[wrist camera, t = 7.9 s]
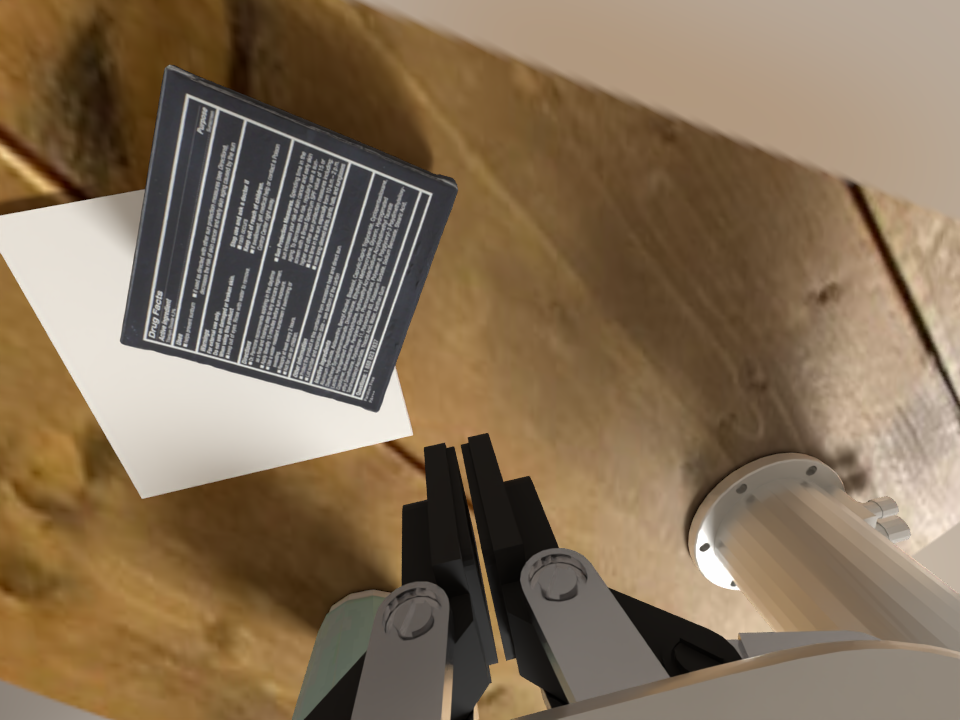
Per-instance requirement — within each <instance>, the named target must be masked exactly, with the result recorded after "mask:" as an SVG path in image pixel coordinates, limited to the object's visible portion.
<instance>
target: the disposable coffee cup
mask: <svg viewBox="0 0 960 720" xmlns="http://www.w3.org/2000/svg"><path fill="white" fill-rule="evenodd" d="M389 594H391V593H389V592H384V591H378V590H368V591H363V592H358V593H353V594H349V595H348V596H346V597H345V598H343V599H342V600H340V601H339V602H337V603H336V604H334V605H333V606H332V607H331V609H330V611H329V613H328V614H326V617H325V619H324V621H323V623H322V625H321V627H320V629H319V631H318V634H317V638H316V641H315V644H314V647H313V651H312V654H311V657H310V661H309V664H308V667H307V671H306V674H305V677H304V681H303V684H302V687H301V691H300V694H299V697H298V701H297V704H296V707H295V710H294V714H293V717H292V720H304V719H305V718H306V717H307V715H308V714H309V713H310V712H311V711H312V710H313V709H314V708H315V707H316V706H317V705H318V703H319V702H320V701H321V700H322V699H323V698H324V697H325V696H326V695H327V694H328V692H329V691H330V690H331V689H332V688H333V687H334V686H335V685H336V684H337V683H338V681H339V680H340V679H341V678H342V677H343V676H344V675H345V674H346V673H347V672H348V671H349V669H350V668H351V667H352V666H353V665H354V664H355V663H356V662H357V661H358V660H359V658H360V657H361V656H362V655H363V654H364V653H365V652H366V651H367V648H368V644H369V639H370V635H371V631H372V626H373V622H374V618H375V615H376V613H377V610H378V608H379V606H380V605H381V603H382V602H383V601H384V599H385V598H386V597H387V596H388V595H389Z"/></svg>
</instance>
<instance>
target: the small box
mask: <svg viewBox="0 0 960 720" xmlns="http://www.w3.org/2000/svg"><path fill="white" fill-rule="evenodd" d="M457 191H458V188H457V184H456V182H455V180H454V179H453V178H450V177H447V176H443V175H440V174H439V175H436V174H433V173H431V172H429V171H426V170H424V169H421V168H419V167H417V166H414V165H412V164H410V163H408V162H406V161H403V160H401V159H399V158H396V157H394V156H392V155H389V154H387V153H385V152H383V151H380V150H378V149H375V148H373V147H370V146H368V145H365V144H363V143H361V142H358V141H356V140H354V139H351V138H349V137H346V136H344V135H341V134H339V133H337V132H335V131H332V130H330V129H327V128H325V127H322V126H320V125H317V124H315V123H313V122H310V121H308V120H305V119H303V118H301V117H298V116H295V115H293V114H291V113H288V112H286V111H283V110H281V109H278V108H276V107H273V106H271V105H268V104H265V103H263V102H260V101H258V100H256V99H253V98H251V97H248V96H246V95H243V94H241V93H239V92H236V91H234V90H231V89H229V88H226V87H223V86H221V85H219V84H216V83H214V82H212V81H209V80H206V79H204V78H201V77H199V76H196V75H194V74H192V73H190V72H188V71H185V70H183V69H181V68H179V67H177V66H174V65H168V66H167V67H166V68H165V70H164V75H163V80H162V87H161V93H160V100H159V106H158V112H157V118H156V124H155V131H154V137H153V143H152V149H151V156H150V162H149V170H148V175H147V180H146V186H145V192H144V198H143V204H142V210H141V217H140V223H139V229H138V235H137V242H136V248H135V253H134V259H133V265H132V271H131V277H130V283H129V290H128V295H127V302H126V308H125V313H124V319H123V324H122V331H121V337H120V343H121V344H123V345H126V346H130V347H134V348H138V349H143V350H152V351H155V352H158V353H162V354H165V355H168V356H174V357H179V358H182V359H186V360H190V361H193V362H197V363H199V364H204V365H210V366H212V367H215V368H218V369H222V370H225V371H228V372H232V373H236V374H240V375H244V376H248V377H252V378H255V379H259V380H263V381H266V382H269V383H274V384H277V385H281V386H284V387H289V388H292V389H297V390H301V391H304V392H306V393H310V394H314V395H317V396H321V397H326V398H330V399H334V400H336V401H340V402H344V403H347V404H351V405H354V406H359V407H361V408H363V409H365V410H368V411H371V412H375V413H377V412H379V410H380V408H381V405H382V403H383V399H384V396H385V393H386V390H387V387H388V385H389V382H390V379H391V376H392V373H393V370H394V367H395V365H396V362H397V359H398V356H399V354H400V351H401V348H402V345H403V342H404V339H405V337H406V334H407V330H408V327H409V325H410V322H411V319H412V317H413V314H414V311H415V309H416V306H417V303H418V300H419V297H420V294H421V292H422V289H423V286H424V283H425V280H426V278H427V275H428V272H429V269H430V266H431V263H432V261H433V258H434V255H435V252H436V250H437V247H438V244H439V241H440V238H441V236H442V233H443V230H444V227H445V225H446V222H447V220H448V217H449V215H450V212H451V210H452V207H453V204H454V201H455V198H456V195H457Z"/></svg>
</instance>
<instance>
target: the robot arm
mask: <svg viewBox="0 0 960 720" xmlns="http://www.w3.org/2000/svg"><path fill="white" fill-rule="evenodd" d="M468 442H469V443H467V444H462V445H461V449H462V454H463V459H464V464H465V469H466V474H467V479H468V484H469V489H470V494H471V499H472V504H473V509H474V514H475V519H476V524H477V529H478V534H479V539H480V544H481V549H482V554H483V558H484V563H485V568H486V572H487V577H488V581H489V585H490V590H491V594H492V599H493V603H494V608H495V612H496V617H497V621H498V626H499V630H500V635H501V639H502V644H503V648H504V653H505V657H506V661H507V660H511V659H514V658H516V660H517V664H518V669H519V673H520V675H521V676H522V677H524V678H525V679H527V680H529V681H530V682H532V683H534V684H535V685H537V686H539V687H540V689H541V693H542V697H543V700H544V702H545V705H546V707H547V709H548V710H545V711H541V712H537V713H533V714H530V715H526V716H522V717H518V718H515V719H511V720H960V594H959V593H958V592H956V591H955V590H954V589H952V588H951V587H950V586H948V585H947V584H946V583H945V582H943V581H942V580H941V579H939V578H938V577H937V576H935V575H934V574H933V573H932V572H930V571H929V570H928V569H926V568H925V567H924V566H923V565H921V564H920V563H919V562H917V561H916V560H915V559H913V558H912V557H911V556H910V555H908V554H907V553H906V552H904V551H903V550H902V549H900V548H899V547H898V546H897V545H895V544H894V543H897V542H901V541H904V540H908V539H909V538H910V536H911V534H910V529H909V527H908V525H907V524H906V522H905V521H903V520H902V519H901V518H900V517H898V516H896V515H897V513H898V512H899V509H898V506H897V504H896V502H895V501H894V500H893V499H892V498H890V497H887V496H885V497H881V498H877V499H873V500H869V501H868V502H866V503H861V502H857V501H856V500H854V499H853V498H852V497H850V496H849V495H848V494H846V493H845V489H844V484H843V482H842V480H841V479H840V477H839V475H838V474H837V473H836V472H835V471H834V470H833V469H832V468H830V467H829V466H828V465H826V464H825V463H823V462H822V461H820V460H819V459H817V458H815V457H812V456H809V455H806V454H800V453H781V454H775V455H771V456H767V457H763V458H760V459H758V460H755V461H753V462H750V463H748V464H746V465H744V466H742V467H741V468H739V469H737V470H736V471H734V472H732V473H731V474H730V475H729V476H727V477H726V478H725V479H723V480H722V481H721V482H720V483H719V484H718V485H717V486H716V487H715V488H714V489H713V490H712V491H711V492H710V493H709V494H708V495H707V497H706V498H705V499H704V501H703V502H702V504H701V505H700V506H699V508H698V510H697V512H696V514H695V516H694V518H693V521H692V524H691V528H690V531H689V541H688V546H689V551H690V556H691V558H692V560H693V562H694V564H695V565H696V567H697V568H698V569H699V571H700V572H701V573H702V575H703V576H704V577H705V578H706V579H708V580H709V581H710V582H711V583H713V584H715V585H717V586H720V587H722V588H726V589H731V590H741V591H742V593H743V594H744V595H745V596H746V598H747V599H748V600H749V601H750V603H751V604H752V605H753V606H754V608H755V609H756V610H757V611H758V612H759V614H760V615H761V616H762V617H763V619H764V620H765V621H766V622H767V624H768V625H769V626H770V627H771V629H772V630H773V631H774V632H763V633H739V635H738V640H726V639H725V638H723V637H722V636H720V635H719V634H717V633H715V632H713V631H711V630H709V629H707V628H705V627H702V626H700V625H697V624H695V623H693V622H690V621H688V620H685V619H683V618H681V617H678V616H676V615H673V614H671V613H668V612H666V611H664V610H661V609H659V608H656V607H654V606H652V605H649V604H647V603H644V602H642V601H639V600H637V599H635V598H632V597H630V596H627V595H625V594H623V593H620V592H618V591H615V590H613V589H610V588H608V587H607V586H606V584H605V583H604V581H603V580H602V578H601V577H600V576H599V574H598V573H597V571H596V570H595V568H594V567H593V565H592V564H591V563H590V562H589V561H588V560H587V559H586V558H585V557H584V556H583V555H581V554H579V553H578V552H576V551H573V550H569V549H565V548H559V547H558V544H557V542H556V539H555V537H554V534H553V532H552V529H551V527H550V524H549V522H548V520H547V517H546V515H545V512H544V510H543V507H542V505H541V502H540V500H539V497H538V495H537V492H536V490H535V487H534V485H533V482H532V480H531V478H530V477H529V476H526V477H522V478H518V479H514V480H509V481H505V482H503V479H502V476H501V472H500V469H499V466H498V463H497V460H496V456H495V453H494V450H493V447H492V444H491V440H490V437H489V434H488V433H485V434H481V435H477V436H472V437H468ZM424 456H425V472H426V487H427V500H424V501H420V502H415V503H411V504H407V505H403V509H402V586H401V587H399V588H397V589H395V590H394V591H393V592H392V593H391V594H389V595H388V596H387V597H386V598H385V599H384V601H383V602H382V603H381V605H380V606H379V608H378V610H377V613H376V615H375V618H374V622H373V626H372V631H371V635H370V639H369V644H368V648H367V651H366V652H365V653H364V654H363V655H362V656H361V657H360V658H359V660H358V661H357V662H356V663H355V664H354V665H353V666H352V667H351V668H350V669H349V671H348V672H347V673H346V674H345V675H344V676H343V677H342V678H341V679H340V680H339V681H338V683H337V684H336V685H335V686H334V687H333V688H332V689H331V690H330V691H329V692H328V694H327V695H326V696H325V697H324V698H323V699H322V700H321V701H320V702H319V703H318V705H317V706H316V707H315V708H314V709H313V710H312V711H311V712H310V713H309V714H308V715H307V717H306V718H305V719H304V720H479V713H478V706H477V702H478V700H479V699H480V697H481V696H482V694H483V693H484V691H485V690H486V688H487V687H488V685H489V683H492V682H491V676H490V670H489V665H491V664H495V663H498V659H497V653H496V648H495V643H494V637H493V632H492V626H491V621H490V616H489V610H488V605H487V600H486V594H485V589H484V584H483V578H482V573H481V568H480V562H479V557H478V552H477V546H476V541H475V536H474V531H473V527H472V522H471V518H470V514H469V509H468V505H467V500H466V496H465V492H464V487H463V483H462V478H461V474H460V470H459V465H458V461H457V456H456V452H455V448H454V447H449V448H446V445H445V443H441V444H437V445H432V446H428V447H424Z"/></svg>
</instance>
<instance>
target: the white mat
mask: <svg viewBox="0 0 960 720" xmlns="http://www.w3.org/2000/svg"><path fill="white" fill-rule="evenodd" d="M144 192H145V189H143V190H138V191H132V192H127V193H121V194H116V195H110V196H105V197H100V198H94V199H89V200H83V201H78V202H72V203H67V204H61V205H56V206H50V207H45V208H39V209H34V210H28V211H23V212H17V213H12V214H6V215H1V216H0V252H1V254H2V256H3V257H4V259H5V261H6V263H7V264H8V266H9V268H10V270H11V271H12V273H13V275H14V277H15V278H16V280H17V282H18V284H19V285H20V287H21V289H22V291H23V292H24V294H25V296H26V298H27V299H28V301H29V303H30V304H31V306H32V308H33V310H34V311H35V313H36V315H37V317H38V318H39V320H40V322H41V324H42V325H43V327H44V329H45V331H46V332H47V334H48V336H49V338H50V339H51V341H52V343H53V345H54V346H55V348H56V350H57V351H58V353H59V355H60V357H61V358H62V360H63V362H64V364H65V365H66V367H67V369H68V371H69V372H70V374H71V376H72V378H73V379H74V381H75V383H76V385H77V386H78V388H79V390H80V392H81V393H82V395H83V397H84V399H85V400H86V402H87V404H88V405H89V407H90V409H91V411H92V412H93V414H94V416H95V418H96V419H97V421H98V423H99V425H100V426H101V428H102V430H103V432H104V433H105V435H106V437H107V439H108V440H109V442H110V444H111V446H112V447H113V449H114V451H115V452H116V454H117V456H118V458H119V459H120V461H121V463H122V465H123V466H124V468H125V470H126V472H127V473H128V475H129V477H130V479H131V480H132V482H133V484H134V486H135V487H136V489H137V491H138V493H139V494H140V496H141V498H142V499H144V498H148V497H152V496H156V495H161V494H165V493H169V492H173V491H178V490H182V489H186V488H190V487H195V486H199V485H203V484H207V483H212V482H216V481H220V480H224V479H229V478H233V477H237V476H241V475H245V474H250V473H254V472H258V471H262V470H267V469H271V468H275V467H279V466H284V465H288V464H292V463H296V462H301V461H305V460H309V459H313V458H318V457H322V456H326V455H330V454H335V453H339V452H343V451H347V450H352V449H356V448H360V447H364V446H369V445H373V444H377V443H381V442H386V441H390V440H394V439H398V438H403V437H407V436H411V435H413V431H412V427H411V423H410V419H409V415H408V412H407V408H406V404H405V400H404V397H403V393H402V389H401V385H400V382H399V378H398V374H397V370H396V366H395V367H394V370H393V373H392V376H391V379H390V382H389V385H388V387H387V390H386V393H385V396H384V399H383V403H382V405H381V408H380V410H379V412H377V413H375V412H371V411H368V410H365V409H363V408H361V407H359V406H354V405H351V404H347V403H344V402H340V401H336V400H334V399H330V398H326V397H321V396H317V395H314V394H310V393H306V392H304V391H301V390H297V389H292V388H289V387H284V386H281V385H277V384H274V383H269V382H266V381H263V380H259V379H255V378H252V377H248V376H244V375H240V374H236V373H232V372H228V371H225V370H222V369H218V368H215V367H212V366H210V365H204V364H199V363H197V362H193V361H190V360H186V359H182V358H179V357H174V356H168V355H165V354H162V353H158V352H155V351H152V350H143V349H138V348H134V347H130V346H126V345H123V344H121V343H120V337H121V331H122V324H123V319H124V313H125V308H126V302H127V295H128V290H129V283H130V277H131V271H132V265H133V259H134V253H135V248H136V242H137V235H138V229H139V223H140V217H141V210H142V204H143V198H144Z"/></svg>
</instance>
